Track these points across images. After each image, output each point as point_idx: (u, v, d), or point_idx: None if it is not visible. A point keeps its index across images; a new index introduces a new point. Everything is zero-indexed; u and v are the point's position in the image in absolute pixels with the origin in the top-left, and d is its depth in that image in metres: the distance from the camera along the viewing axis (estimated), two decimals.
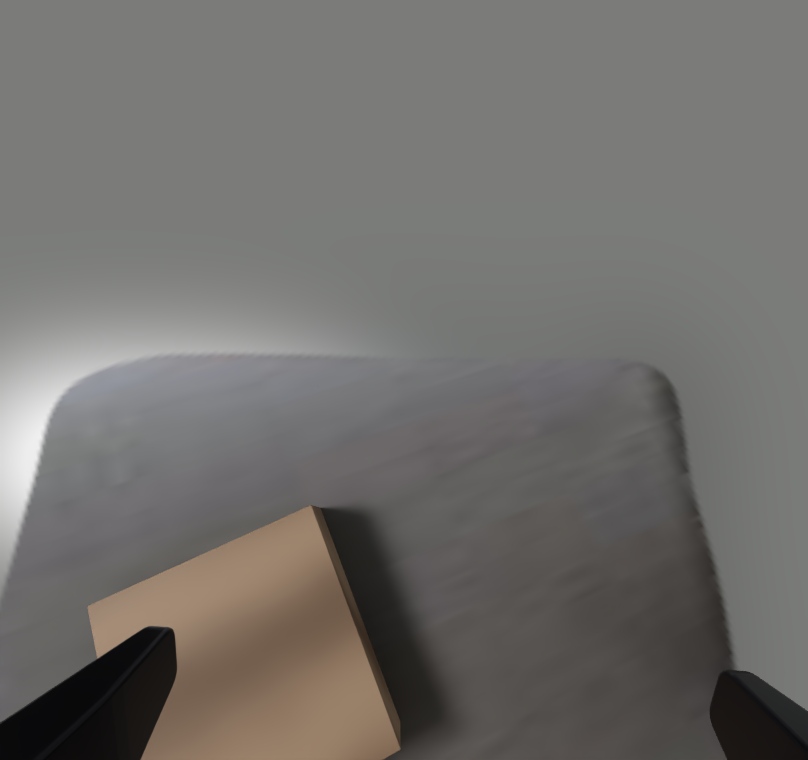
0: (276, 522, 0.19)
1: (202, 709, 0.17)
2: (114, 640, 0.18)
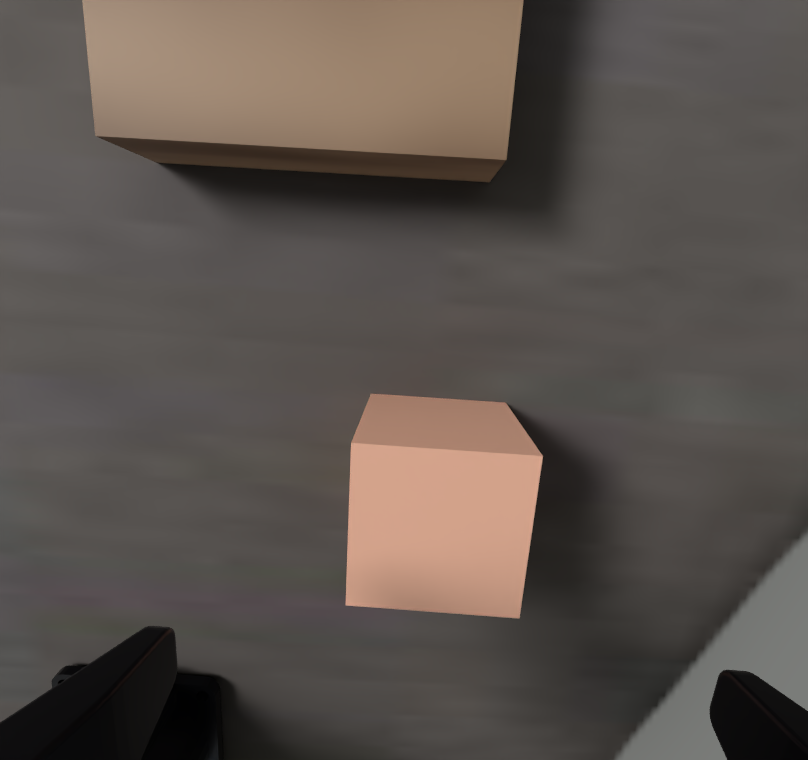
0: None
1: None
2: None
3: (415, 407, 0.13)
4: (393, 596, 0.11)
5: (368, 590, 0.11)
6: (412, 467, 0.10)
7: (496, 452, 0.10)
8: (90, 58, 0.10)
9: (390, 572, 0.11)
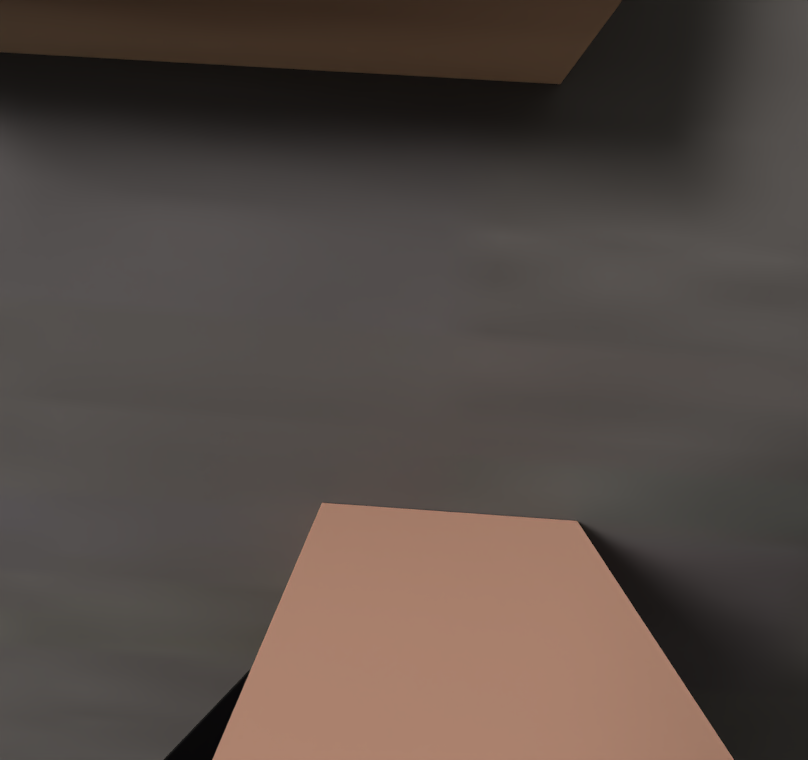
0: None
1: None
2: None
3: (403, 554, 0.06)
4: None
5: None
6: None
7: None
8: None
9: None
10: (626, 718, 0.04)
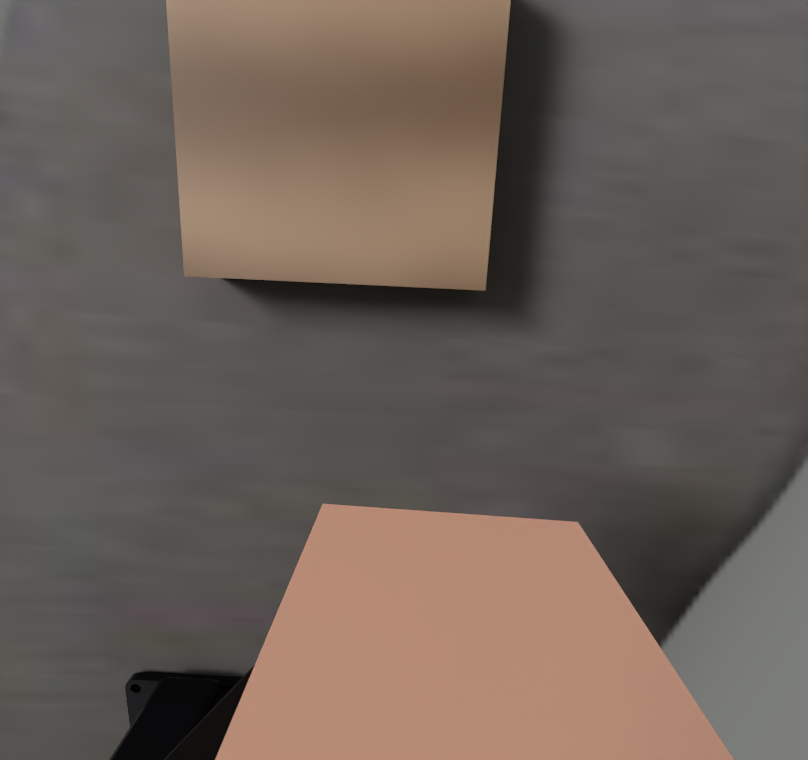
0: None
1: (283, 133, 0.13)
2: None
3: (404, 555, 0.06)
4: None
5: None
6: None
7: None
8: (181, 223, 0.14)
9: None
10: (627, 720, 0.04)
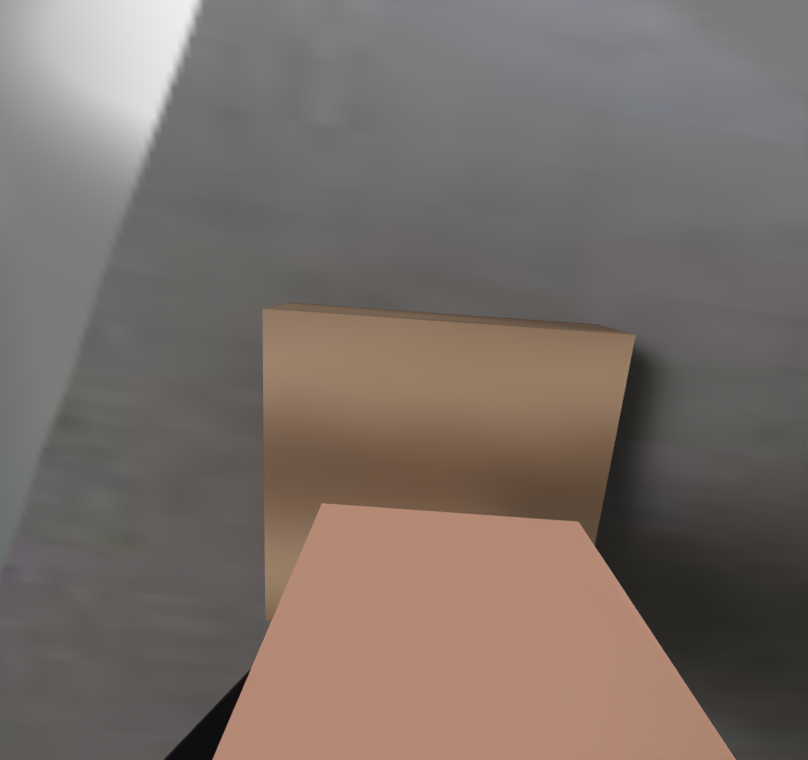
0: (572, 332, 0.12)
1: (377, 504, 0.13)
2: (290, 372, 0.12)
3: (404, 555, 0.06)
4: None
5: None
6: None
7: None
8: (265, 574, 0.14)
9: None
10: (629, 722, 0.04)
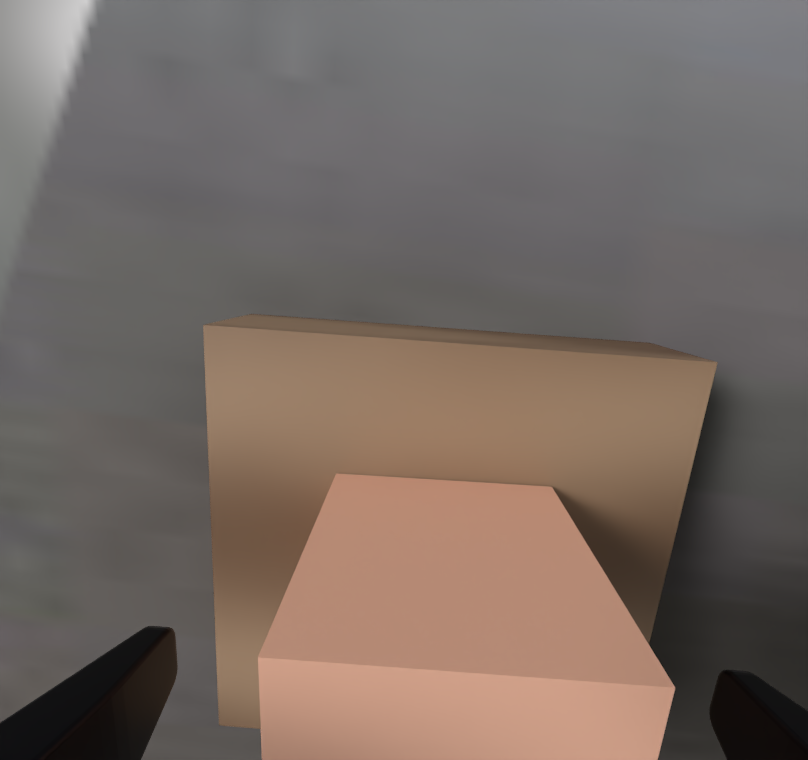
0: (629, 359, 0.08)
1: None
2: (243, 411, 0.09)
3: (405, 510, 0.08)
4: None
5: None
6: (391, 706, 0.05)
7: (571, 677, 0.05)
8: (218, 668, 0.10)
9: None
10: (570, 615, 0.06)
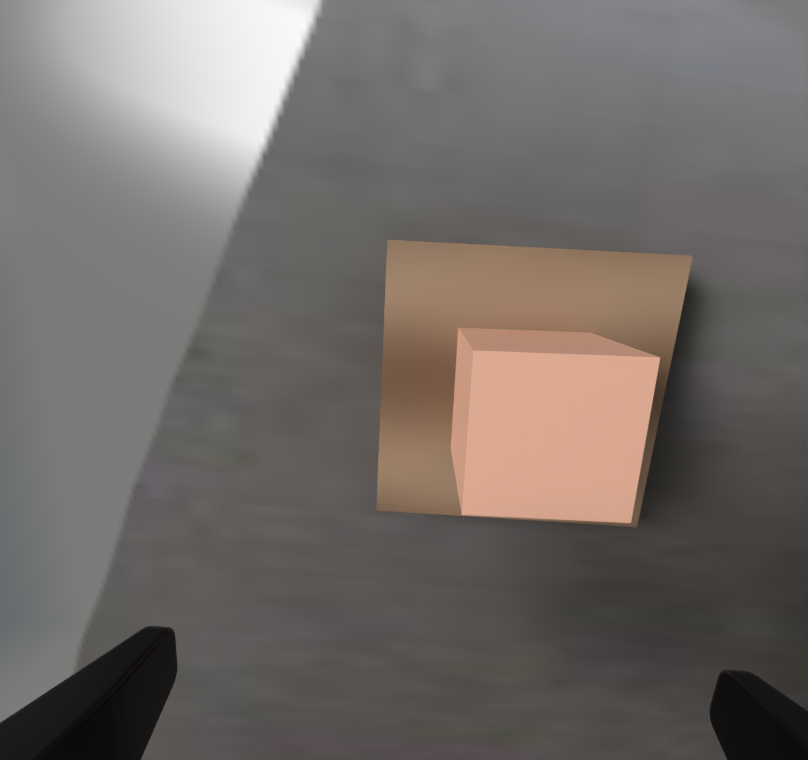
0: (640, 255, 0.14)
1: None
2: (407, 293, 0.15)
3: (509, 334, 0.14)
4: (508, 505, 0.12)
5: (484, 499, 0.12)
6: (532, 373, 0.11)
7: (613, 355, 0.11)
8: (378, 469, 0.16)
9: (507, 480, 0.11)
10: (610, 349, 0.11)
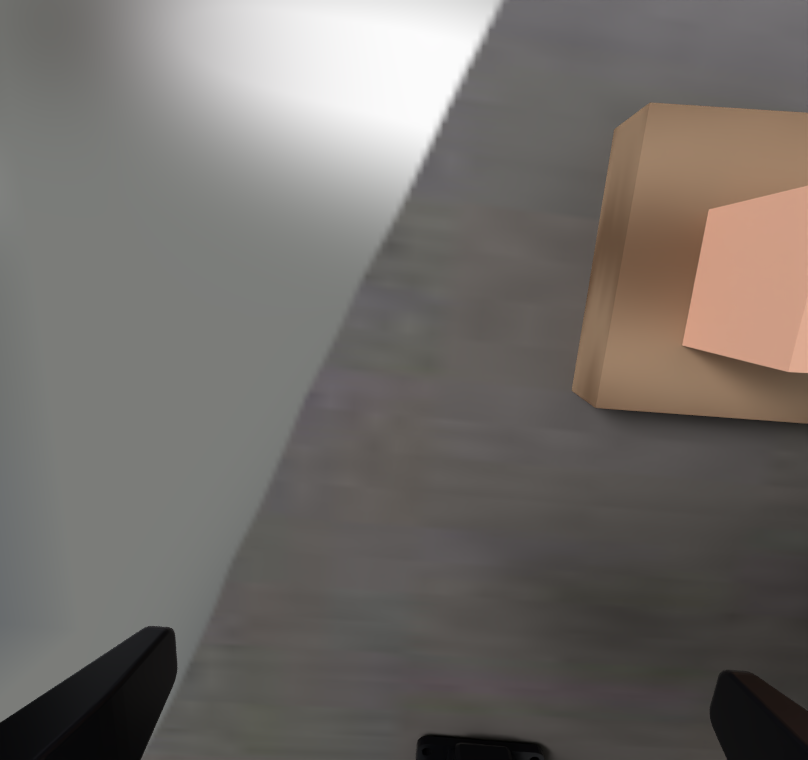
0: None
1: None
2: (663, 163, 0.14)
3: None
4: None
5: None
6: None
7: None
8: (602, 362, 0.16)
9: None
10: None
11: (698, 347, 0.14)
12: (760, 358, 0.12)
